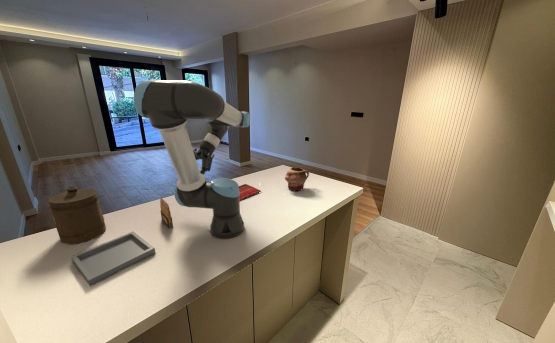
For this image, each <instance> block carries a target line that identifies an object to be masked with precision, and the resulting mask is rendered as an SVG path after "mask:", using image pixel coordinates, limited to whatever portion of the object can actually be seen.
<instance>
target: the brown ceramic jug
mask: <svg viewBox="0 0 555 343" xmlns="http://www.w3.org/2000/svg"><path fill="white" fill-rule="evenodd" d="M309 176H310V171H309V170H305V169H303V167H302V168H301V167H290V168H289V169H288V170H287V171H286V174H285V176H284V180H285V181H286V182H287V188H289V190H290V189H291V190H290V191H292V190H301V189H302V190H303V189H304V186H305V183H306V181H307V180H308V178H309ZM302 190H301V191H302Z"/></svg>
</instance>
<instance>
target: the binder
mask: <svg viewBox="0 0 555 343" xmlns="http://www.w3.org/2000/svg"><path fill="white" fill-rule="evenodd" d="M239 191H240V195H239V196H240V202H241V201H243V200H245V199H248V198H250V197H252V196H254V194H255V195H257V193H258V194H260V193H259V192H261V193H262V191H261V190H260V189H259V188H256V187H254V186H251V185H249V184H246V183H244V184H240V185H239ZM247 197H248V198H247Z"/></svg>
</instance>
